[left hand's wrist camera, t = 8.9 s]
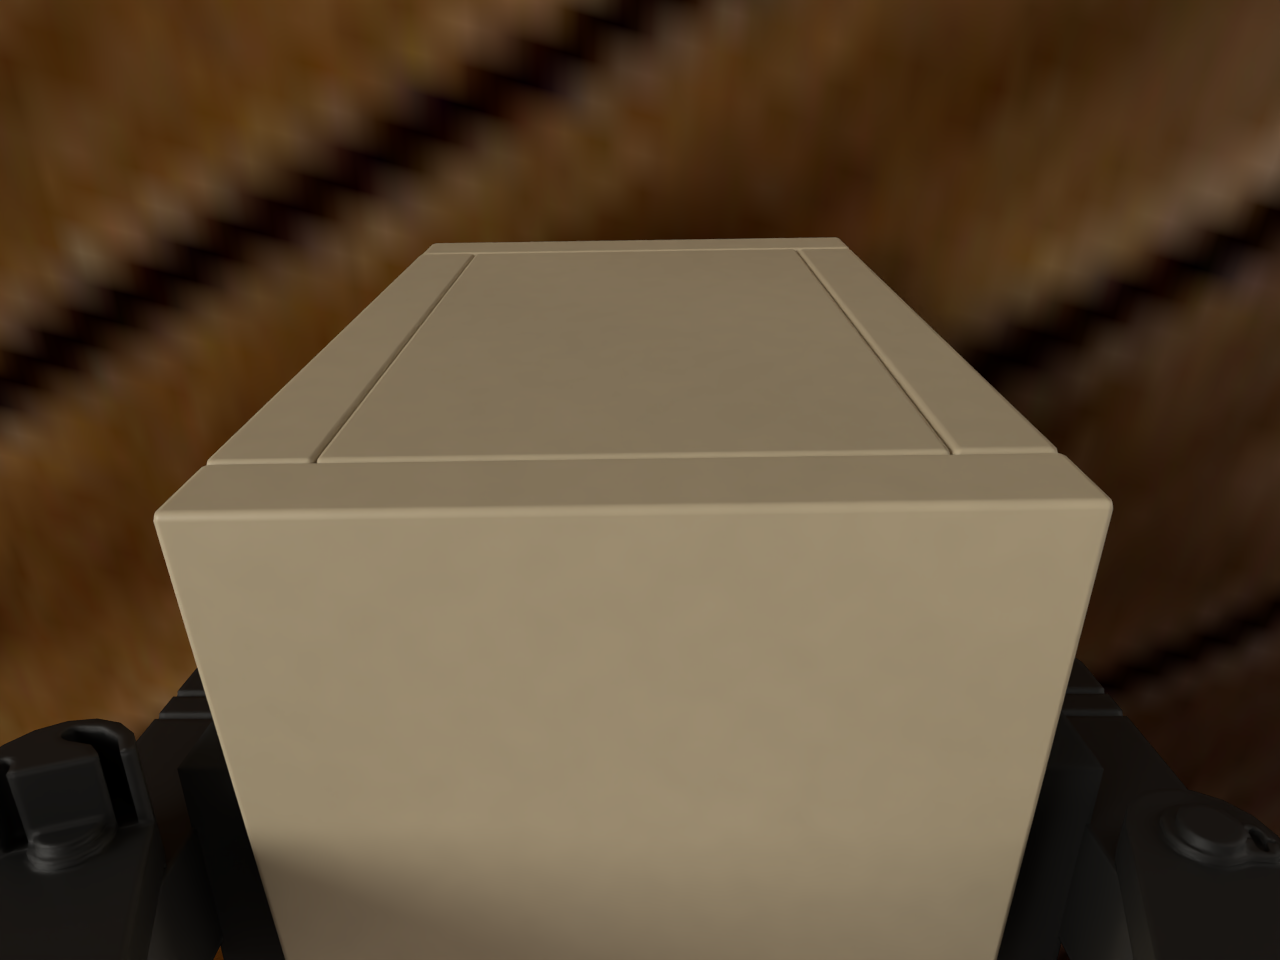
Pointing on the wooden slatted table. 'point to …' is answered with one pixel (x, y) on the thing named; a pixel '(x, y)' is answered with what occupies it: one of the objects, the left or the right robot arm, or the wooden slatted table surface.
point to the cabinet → (637, 615)
